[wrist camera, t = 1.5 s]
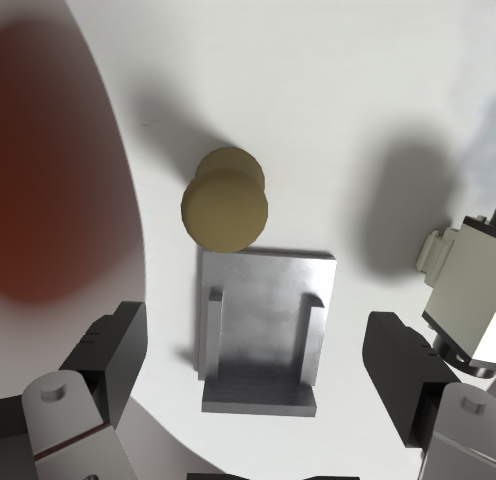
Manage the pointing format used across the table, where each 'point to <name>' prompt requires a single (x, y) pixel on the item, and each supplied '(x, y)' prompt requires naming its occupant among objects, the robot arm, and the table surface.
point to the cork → (225, 201)
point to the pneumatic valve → (463, 294)
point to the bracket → (262, 331)
